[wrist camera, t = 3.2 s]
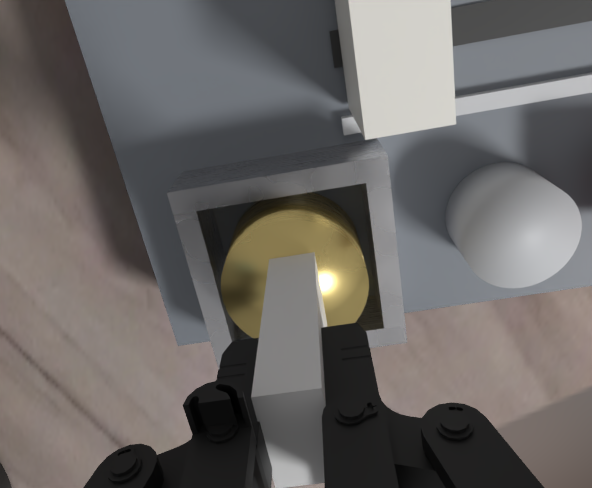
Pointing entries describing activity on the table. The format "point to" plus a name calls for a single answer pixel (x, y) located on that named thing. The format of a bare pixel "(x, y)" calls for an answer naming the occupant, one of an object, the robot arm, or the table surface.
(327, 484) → the robot arm
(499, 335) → the table surface
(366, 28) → the off-white rectangular prism
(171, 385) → the table surface
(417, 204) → the panel
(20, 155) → the table surface
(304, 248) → the brass button
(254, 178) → the button housing
